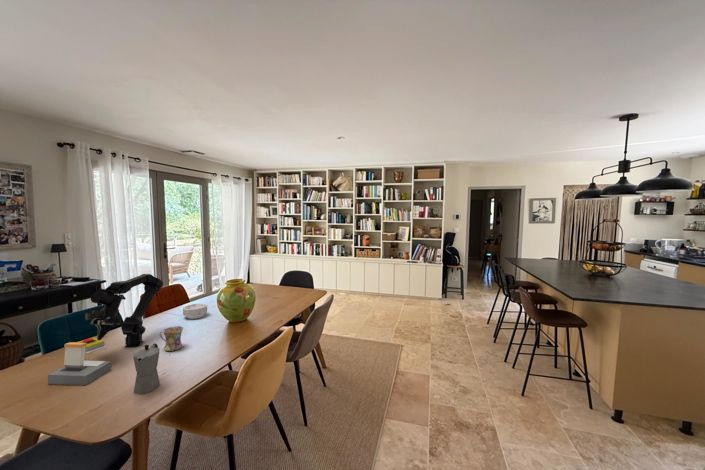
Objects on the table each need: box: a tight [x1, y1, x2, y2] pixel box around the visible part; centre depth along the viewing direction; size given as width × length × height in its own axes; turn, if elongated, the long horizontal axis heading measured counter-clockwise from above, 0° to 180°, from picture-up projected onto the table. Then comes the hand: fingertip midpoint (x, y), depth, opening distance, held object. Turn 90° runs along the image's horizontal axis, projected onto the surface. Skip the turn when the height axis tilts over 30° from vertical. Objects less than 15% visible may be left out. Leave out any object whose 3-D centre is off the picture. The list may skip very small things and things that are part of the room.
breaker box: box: [47, 359, 112, 386], centre depth 123 cm, size 12×16×4 cm
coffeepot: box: [132, 343, 161, 395], centre depth 117 cm, size 15×9×18 cm, turn 13°
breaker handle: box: [63, 341, 87, 368], centre depth 122 cm, size 2×7×10 cm, turn 89°
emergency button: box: [76, 337, 108, 354], centre depth 150 cm, size 9×4×15 cm
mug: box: [159, 325, 184, 352], centre depth 151 cm, size 12×9×11 cm
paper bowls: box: [182, 303, 208, 320], centre depth 200 cm, size 15×15×8 cm
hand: (98, 340), depth 133 cm, fingers closed
